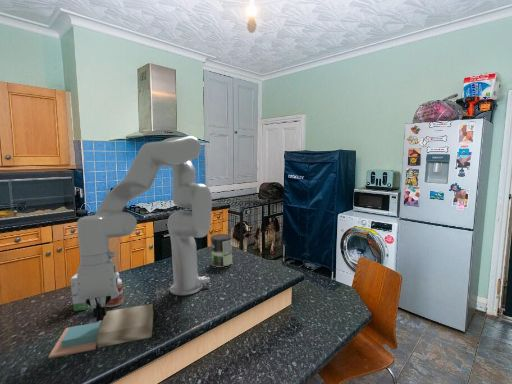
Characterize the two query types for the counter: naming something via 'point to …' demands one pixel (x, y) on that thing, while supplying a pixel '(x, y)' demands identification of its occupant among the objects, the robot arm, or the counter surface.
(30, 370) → the counter surface
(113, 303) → the pill bottle
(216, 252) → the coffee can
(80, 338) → the tile
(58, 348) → the mat
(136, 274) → the counter surface
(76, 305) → the ink box
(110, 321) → the platform
